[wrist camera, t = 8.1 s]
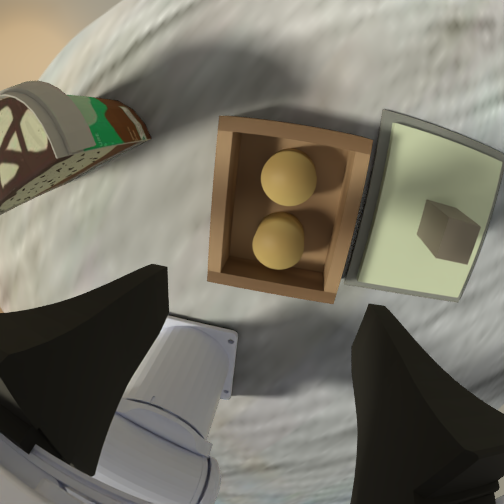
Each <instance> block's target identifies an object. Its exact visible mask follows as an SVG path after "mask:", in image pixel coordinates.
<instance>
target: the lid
mask: <svg viewBox="0 0 504 504" xmlns="http://www.w3.org/2000/svg"><path fill="white" fill-rule="evenodd" d="M501 167H502V162H501V161H499V160H497V159H494V158H492V157H490V156H488V155H485V154H483V153H481V152H478V151H476V150H473V149H471V148H468V147H466V146H463V145H461V144H458V143H456V142H453V141H450V140H447V139H445V138H442V137H439V136H436V135H433V134H430V133H427V132H424V131H421V130H418V129H414V128H411V127H408V126H404V125H401V124H398V123H392V129H391V135H390V141H389V146H388V152H387V157H386V162H385V167H384V172H383V177H382V182H381V186H380V191H379V195H378V199H377V204H376V208H375V212H374V216H373V220H372V224H371V228H370V231H369V235H368V239H367V243H366V246H365V250H364V253H363V257H362V260H361V264H360V267H359V270H358V274H357V281H358V282H364V283H370V284H376V285H382V286H388V287H394V288H400V289H406V290H413V291H419V292H425V293H431V294H438V295H444V296H450V297H456V298H458V296H459V294H460V292H461V290H462V288H463V285H464V283H465V281H466V278H467V276H468V273H469V271H470V269H471V266H472V264H473V261H474V258H475V256H476V253H477V250H478V248H479V245H480V242H481V239H482V236H483V233H484V230H485V227H486V224H487V221H488V218H489V214H490V211H491V208H492V204H493V200H494V197H495V193H496V189H497V185H498V181H499V176H500V172H501Z"/></svg>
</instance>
